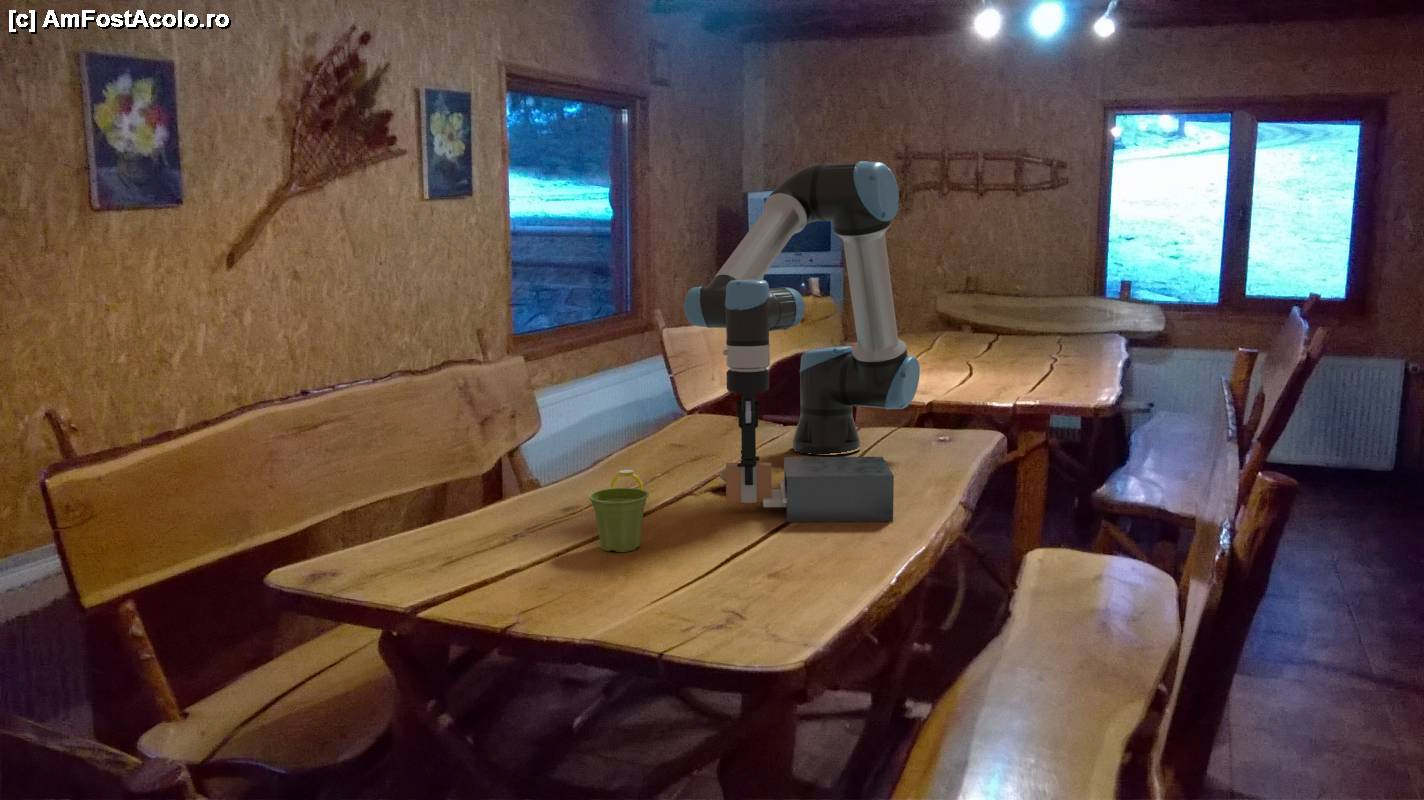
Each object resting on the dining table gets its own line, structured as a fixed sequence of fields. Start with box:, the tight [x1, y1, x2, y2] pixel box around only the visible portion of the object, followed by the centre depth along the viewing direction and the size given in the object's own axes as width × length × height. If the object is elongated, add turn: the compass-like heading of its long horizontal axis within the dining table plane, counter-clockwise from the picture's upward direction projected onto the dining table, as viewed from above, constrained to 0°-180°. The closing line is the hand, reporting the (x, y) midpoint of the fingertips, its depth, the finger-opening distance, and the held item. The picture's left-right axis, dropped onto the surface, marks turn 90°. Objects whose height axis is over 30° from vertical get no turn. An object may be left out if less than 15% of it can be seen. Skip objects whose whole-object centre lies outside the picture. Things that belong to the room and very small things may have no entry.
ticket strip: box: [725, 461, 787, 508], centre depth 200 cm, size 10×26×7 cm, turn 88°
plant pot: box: [588, 487, 649, 553], centre depth 178 cm, size 9×9×9 cm
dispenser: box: [779, 456, 895, 523], centre depth 200 cm, size 16×19×8 cm
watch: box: [610, 469, 644, 490], centre depth 208 cm, size 6×3×6 cm, turn 76°
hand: (748, 499), depth 200 cm, fingers closed on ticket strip, 2 cm apart
